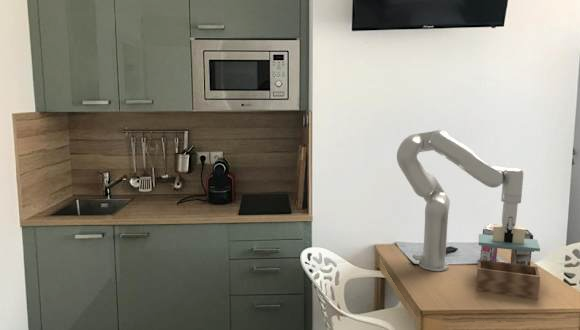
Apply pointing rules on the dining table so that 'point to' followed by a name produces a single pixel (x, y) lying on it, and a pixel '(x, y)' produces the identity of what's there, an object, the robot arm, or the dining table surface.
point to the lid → (498, 242)
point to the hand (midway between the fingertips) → (507, 240)
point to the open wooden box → (508, 279)
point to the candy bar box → (488, 252)
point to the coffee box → (522, 253)
